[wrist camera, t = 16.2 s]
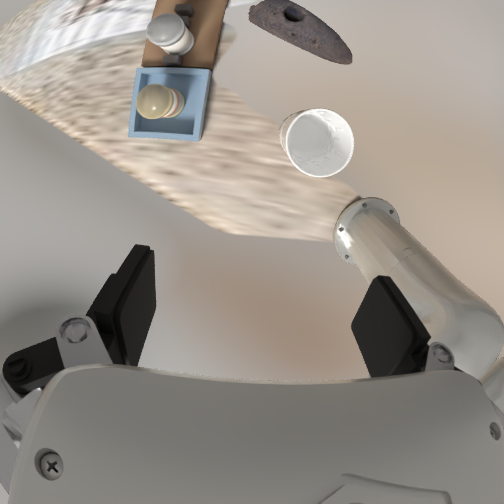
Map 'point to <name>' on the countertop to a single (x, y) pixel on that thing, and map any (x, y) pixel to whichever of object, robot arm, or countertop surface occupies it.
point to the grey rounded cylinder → (170, 34)
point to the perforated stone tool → (300, 29)
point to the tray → (191, 117)
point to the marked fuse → (159, 102)
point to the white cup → (317, 141)
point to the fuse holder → (201, 27)
